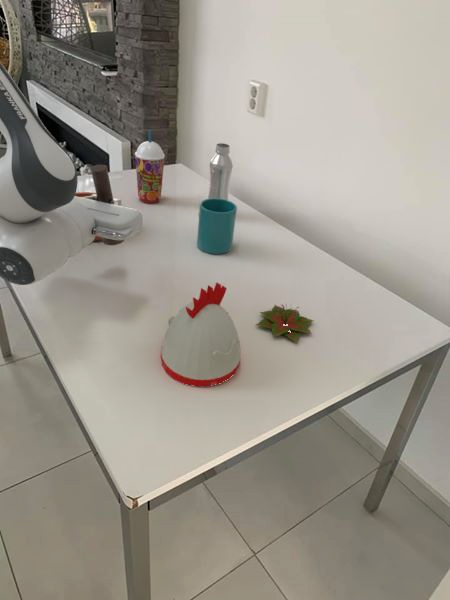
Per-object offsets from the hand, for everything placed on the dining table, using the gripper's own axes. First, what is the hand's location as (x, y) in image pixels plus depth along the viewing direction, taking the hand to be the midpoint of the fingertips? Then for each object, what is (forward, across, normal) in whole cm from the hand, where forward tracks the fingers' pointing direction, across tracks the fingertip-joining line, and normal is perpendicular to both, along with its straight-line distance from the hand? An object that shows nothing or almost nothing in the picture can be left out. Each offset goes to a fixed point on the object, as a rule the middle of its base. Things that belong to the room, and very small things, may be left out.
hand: (107, 200), depth 90 cm
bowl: (+18, +16, +17) cm, 29 cm away
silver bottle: (+42, -12, +17) cm, 47 cm away
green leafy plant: (-3, -40, +17) cm, 44 cm away
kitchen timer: (-19, -27, +17) cm, 38 cm away
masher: (+1, -1, +9) cm, 9 cm away
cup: (+24, -16, +17) cm, 33 cm away
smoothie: (+42, +10, +17) cm, 47 cm away
